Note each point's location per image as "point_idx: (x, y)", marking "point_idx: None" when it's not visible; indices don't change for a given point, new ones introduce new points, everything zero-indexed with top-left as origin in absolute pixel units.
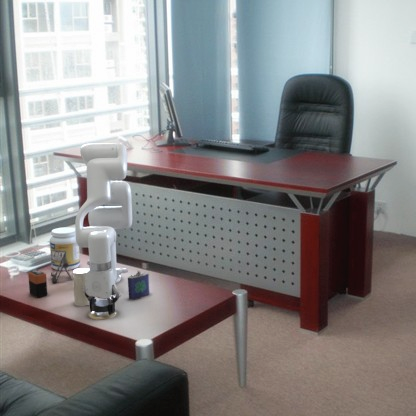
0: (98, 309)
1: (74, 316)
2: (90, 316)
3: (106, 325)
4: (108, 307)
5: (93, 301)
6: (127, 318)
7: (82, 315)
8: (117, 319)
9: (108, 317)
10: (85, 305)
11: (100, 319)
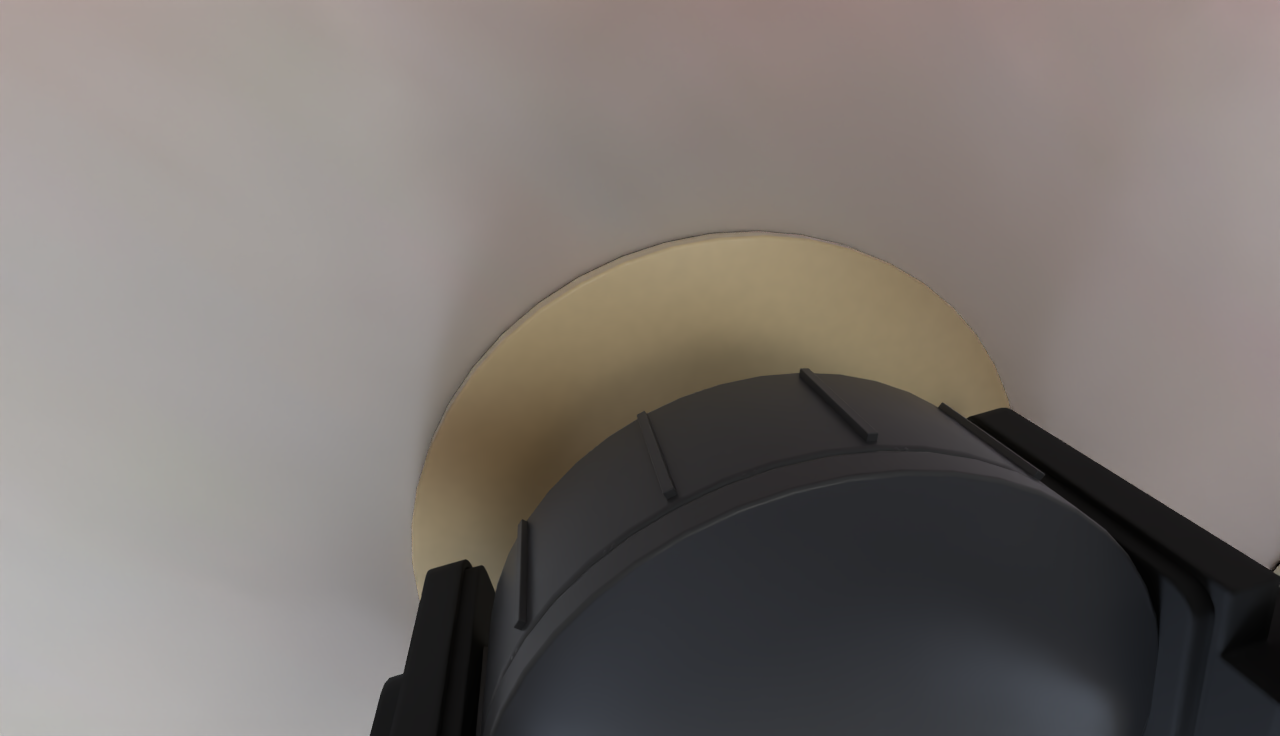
0: (657, 462)
1: (1207, 67)
2: (836, 264)
3: (3, 140)
4: (435, 732)
5: (1164, 676)
6: (106, 714)
7: (1068, 230)
8: (215, 563)
9: (422, 488)
10: (1275, 570)
11: (520, 319)
